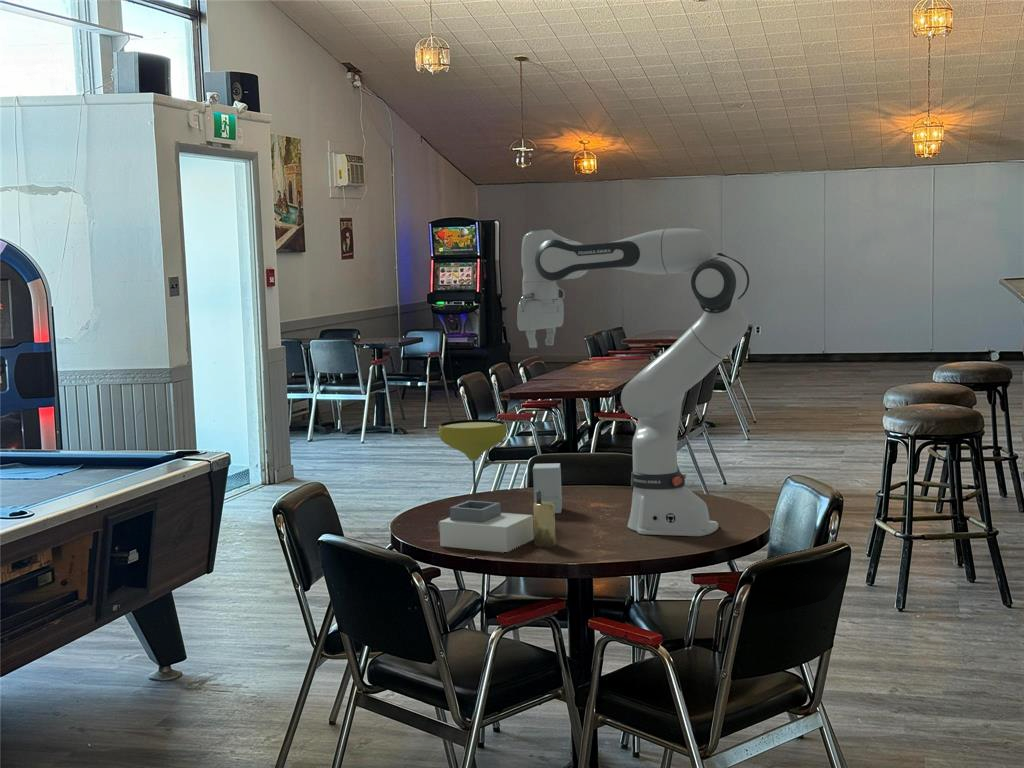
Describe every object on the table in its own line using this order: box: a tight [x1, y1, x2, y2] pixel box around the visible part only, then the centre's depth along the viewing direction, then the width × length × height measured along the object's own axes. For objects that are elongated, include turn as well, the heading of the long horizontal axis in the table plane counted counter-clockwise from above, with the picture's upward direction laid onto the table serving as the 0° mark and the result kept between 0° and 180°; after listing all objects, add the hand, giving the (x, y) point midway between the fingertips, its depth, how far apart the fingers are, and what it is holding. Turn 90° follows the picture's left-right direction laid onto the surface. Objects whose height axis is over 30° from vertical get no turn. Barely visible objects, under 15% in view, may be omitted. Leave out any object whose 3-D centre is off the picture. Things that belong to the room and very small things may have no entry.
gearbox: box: [437, 499, 534, 553], centre depth 269 cm, size 22×14×9 cm, turn 62°
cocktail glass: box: [438, 419, 507, 501], centre depth 299 cm, size 18×18×25 cm
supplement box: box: [532, 462, 563, 514], centre depth 303 cm, size 7×7×13 cm
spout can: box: [532, 490, 556, 548], centre depth 264 cm, size 5×5×13 cm
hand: (541, 346), depth 288 cm, fingers open, 8 cm apart
